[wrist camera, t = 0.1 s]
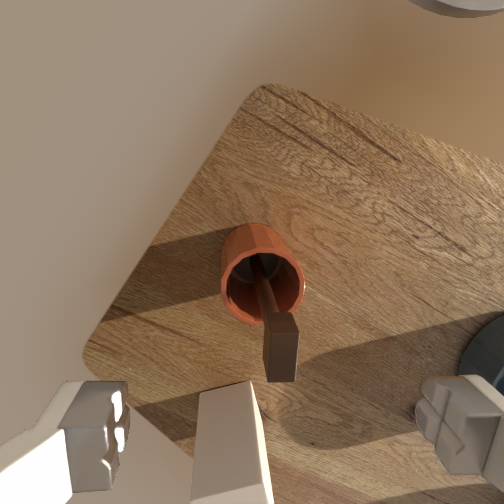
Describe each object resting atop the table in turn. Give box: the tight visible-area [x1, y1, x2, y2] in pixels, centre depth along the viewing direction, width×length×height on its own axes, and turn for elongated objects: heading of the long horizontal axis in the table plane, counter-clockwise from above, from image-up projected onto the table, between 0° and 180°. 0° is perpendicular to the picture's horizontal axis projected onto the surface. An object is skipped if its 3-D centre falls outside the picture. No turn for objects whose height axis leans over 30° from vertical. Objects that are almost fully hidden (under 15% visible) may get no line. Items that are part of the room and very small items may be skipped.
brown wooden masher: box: [233, 253, 300, 383], centre depth 31 cm, size 5×5×20 cm
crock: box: [221, 223, 305, 326], centre depth 37 cm, size 8×8×10 cm
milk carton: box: [190, 381, 274, 504], centre depth 39 cm, size 7×7×19 cm
